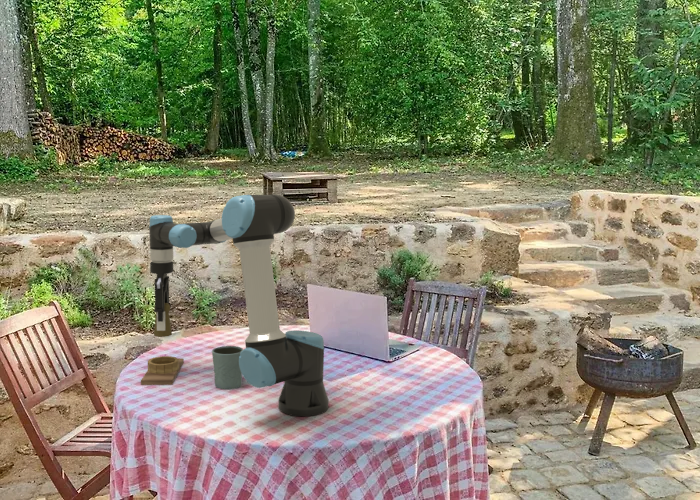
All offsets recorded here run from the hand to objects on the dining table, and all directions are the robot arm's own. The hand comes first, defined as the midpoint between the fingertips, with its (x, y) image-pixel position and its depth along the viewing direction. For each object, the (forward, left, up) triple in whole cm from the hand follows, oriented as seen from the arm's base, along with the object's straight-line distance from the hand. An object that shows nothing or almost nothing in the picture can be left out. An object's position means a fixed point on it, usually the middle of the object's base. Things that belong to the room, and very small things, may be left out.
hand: (162, 328), depth 222 cm
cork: (0, 0, -2) cm, 2 cm away
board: (0, 0, -16) cm, 16 cm away
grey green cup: (-4, -26, -16) cm, 31 cm away
